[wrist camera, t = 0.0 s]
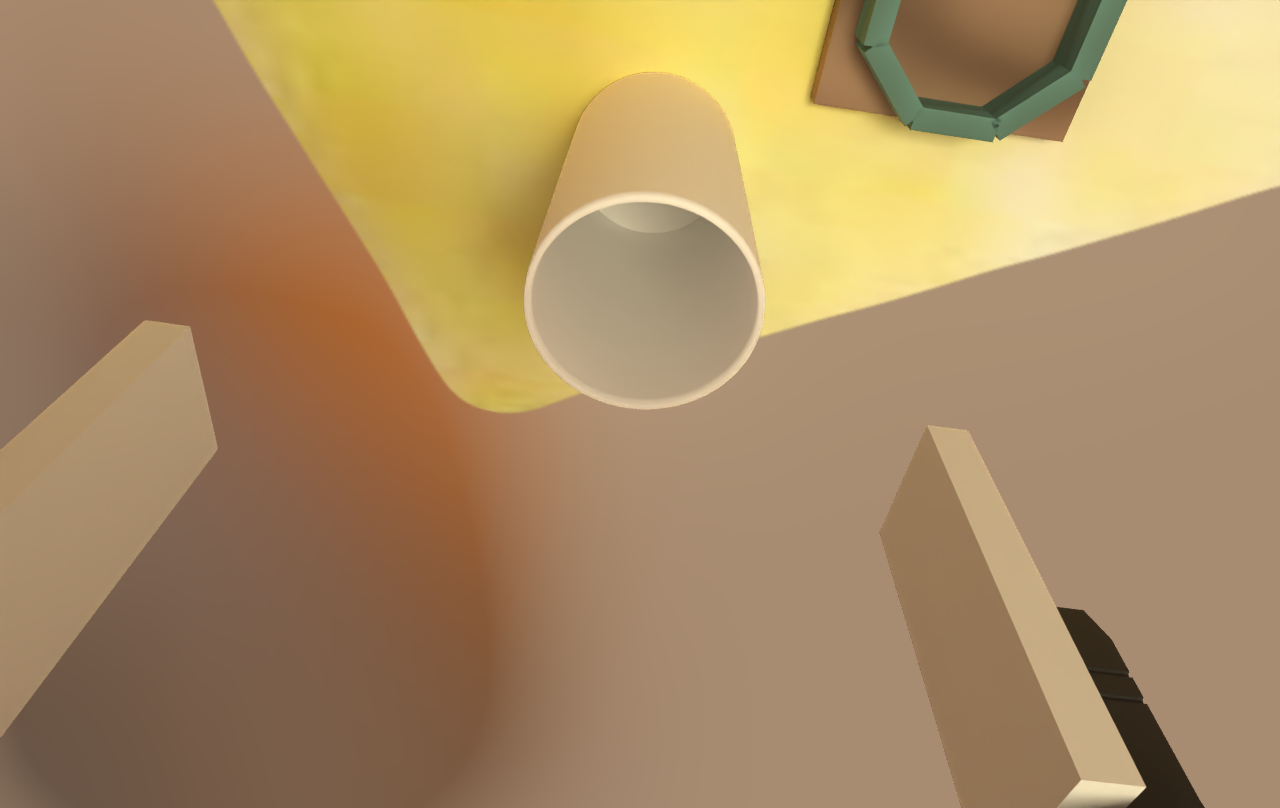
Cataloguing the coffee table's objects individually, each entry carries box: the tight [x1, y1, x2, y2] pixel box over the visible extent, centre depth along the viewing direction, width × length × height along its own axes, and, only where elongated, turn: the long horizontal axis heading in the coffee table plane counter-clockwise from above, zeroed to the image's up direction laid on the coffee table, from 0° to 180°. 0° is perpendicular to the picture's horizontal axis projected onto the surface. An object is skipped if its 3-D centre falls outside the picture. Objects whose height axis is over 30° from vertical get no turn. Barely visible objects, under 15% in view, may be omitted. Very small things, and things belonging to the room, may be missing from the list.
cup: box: [524, 72, 765, 409], centre depth 33 cm, size 8×8×16 cm
